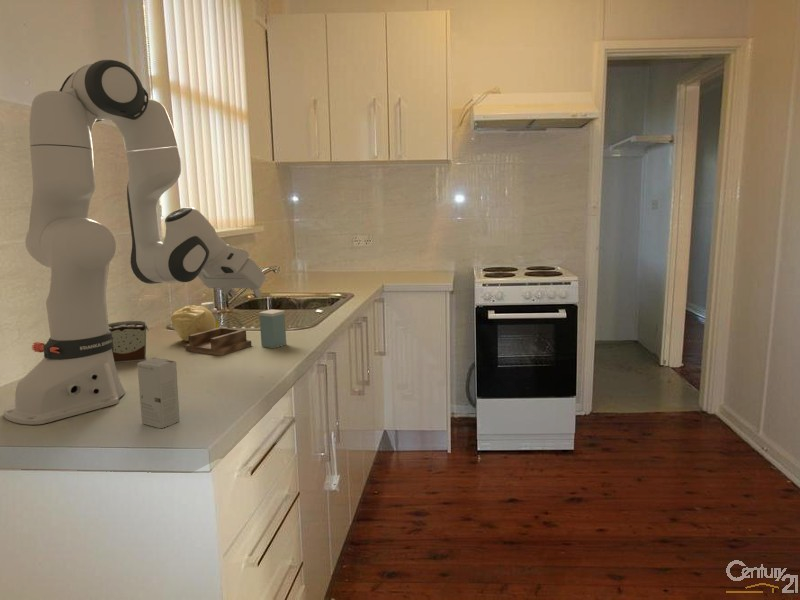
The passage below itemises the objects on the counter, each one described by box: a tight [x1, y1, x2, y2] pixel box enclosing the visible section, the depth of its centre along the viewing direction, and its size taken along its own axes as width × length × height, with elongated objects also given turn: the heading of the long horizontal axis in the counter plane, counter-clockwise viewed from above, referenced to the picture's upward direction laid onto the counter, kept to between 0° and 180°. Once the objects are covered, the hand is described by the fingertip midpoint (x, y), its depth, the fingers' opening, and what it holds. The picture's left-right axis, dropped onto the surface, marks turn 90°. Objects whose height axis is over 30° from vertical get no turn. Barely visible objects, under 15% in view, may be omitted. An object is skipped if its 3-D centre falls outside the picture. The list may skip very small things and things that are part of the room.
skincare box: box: [137, 357, 180, 429], centre depth 109 cm, size 6×4×12 cm
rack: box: [184, 326, 252, 356], centre depth 166 cm, size 12×14×4 cm
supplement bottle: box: [200, 301, 220, 328], centre depth 183 cm, size 6×6×10 cm
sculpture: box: [170, 304, 216, 342], centre depth 176 cm, size 12×12×11 cm
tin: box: [258, 309, 287, 349], centre depth 167 cm, size 5×5×10 cm
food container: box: [108, 320, 149, 363], centre depth 157 cm, size 12×6×10 cm, turn 104°
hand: (246, 295), depth 156 cm, fingers open, 8 cm apart
